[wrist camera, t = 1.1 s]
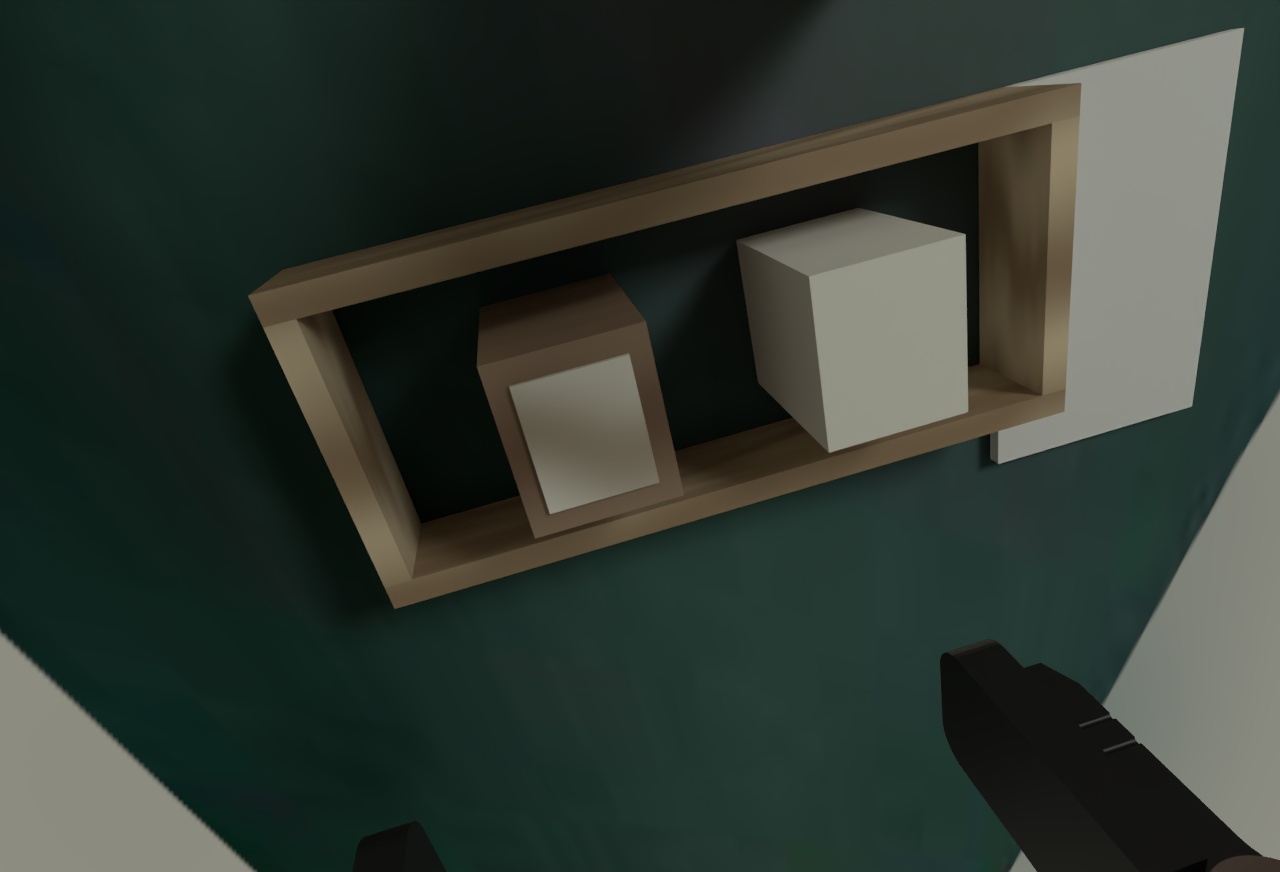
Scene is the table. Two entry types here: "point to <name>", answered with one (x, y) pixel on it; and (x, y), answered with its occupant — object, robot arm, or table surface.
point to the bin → (736, 464)
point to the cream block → (859, 323)
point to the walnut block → (577, 403)
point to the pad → (1139, 235)
